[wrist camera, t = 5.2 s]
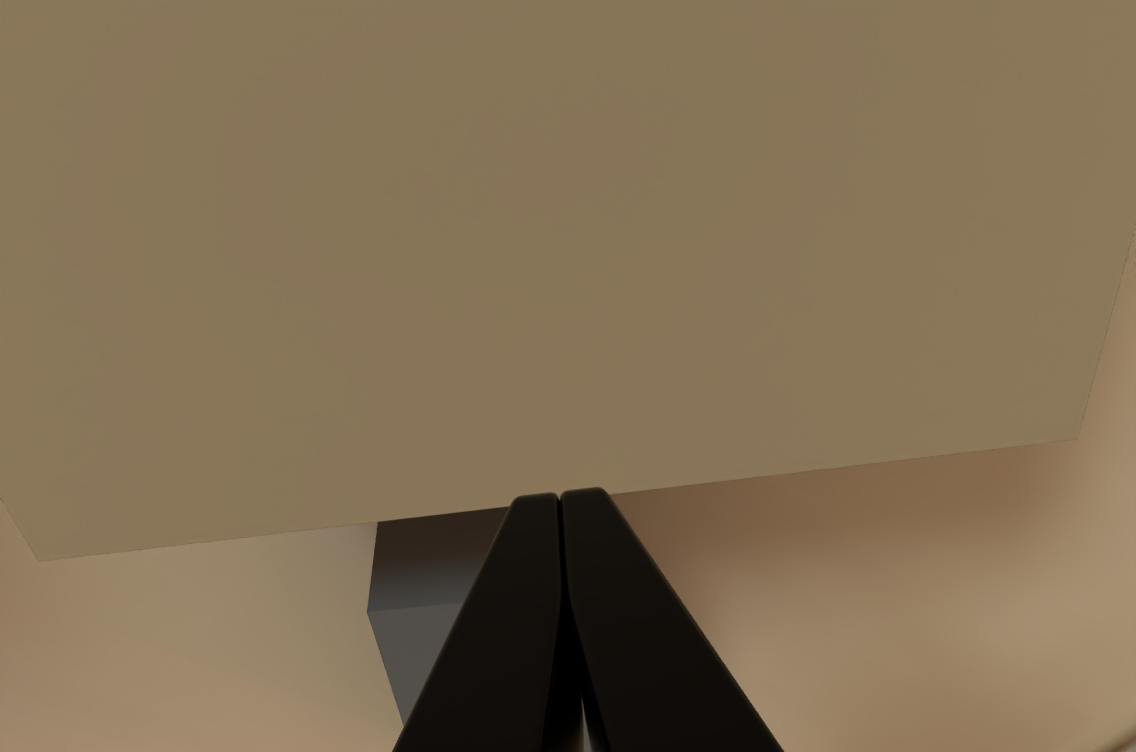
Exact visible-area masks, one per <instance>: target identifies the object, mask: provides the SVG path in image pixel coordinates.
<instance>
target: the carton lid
mask: <svg viewBox="0 0 1136 752" xmlns="http://www.w3.org/2000/svg"><path fill="white" fill-rule="evenodd" d="M1135 225H1136V0H0V499H1V500H2V502H3V504H4V505H5V507H6V508H7V510H8V512H9V513H10V515H11V517H12V518H13V520H14V522H15V523H16V525H17V527H18V528H19V530H20V532H21V533H22V535H23V537H24V538H25V540H26V541H27V543H28V545H29V546H30V548H31V550H32V551H33V553H34V555H35V556H36V558H37V560H38V561H48V560H56V559H65V558H73V557H82V556H90V555H99V554H107V553H116V552H124V551H133V550H141V549H150V548H158V547H167V546H175V545H184V544H192V543H201V542H209V541H218V540H226V539H235V538H243V537H252V536H260V535H269V534H277V533H286V532H294V531H303V530H311V529H320V528H328V527H337V526H345V525H354V524H362V523H371V522H379V521H388V520H396V519H405V518H413V517H422V516H430V515H439V514H447V513H456V512H464V511H473V510H481V509H490V508H498V507H507V506H510V504H511V503H512V501H513V500H514V499H515V498H516V497H518V496H521V495H530V494H539V493H547V492H553V493H555V494H557V495H558V497H559V500H560V496H561V494H562V493H563V492H564V491H566V490H574V489H582V488H591V487H601V488H603V489H604V490H605V491H606V492H607V493H608V494H618V493H626V492H635V491H643V490H652V489H660V488H669V487H677V486H686V485H694V484H703V483H711V482H720V481H728V480H737V479H745V478H754V477H762V476H771V475H779V474H788V473H796V472H805V471H813V470H822V469H830V468H839V467H847V466H856V465H864V464H873V463H881V462H890V461H898V460H907V459H915V458H924V457H932V456H941V455H949V454H958V453H966V452H975V451H983V450H992V449H1000V448H1009V447H1017V446H1026V445H1034V444H1043V443H1051V442H1060V441H1068V440H1077V439H1078V435H1079V431H1080V428H1081V424H1082V420H1083V416H1084V413H1085V409H1086V405H1087V402H1088V398H1089V394H1090V391H1091V387H1092V383H1093V380H1094V376H1095V372H1096V369H1097V365H1098V361H1099V358H1100V354H1101V350H1102V347H1103V343H1104V339H1105V335H1106V332H1107V328H1108V324H1109V321H1110V317H1111V313H1112V310H1113V306H1114V302H1115V299H1116V295H1117V291H1118V288H1119V284H1120V280H1121V277H1122V273H1123V269H1124V266H1125V262H1126V258H1127V254H1128V251H1129V247H1130V243H1131V240H1132V236H1133V232H1134V229H1135Z"/></svg>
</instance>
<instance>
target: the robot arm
mask: <svg viewBox="0 0 1136 752" xmlns="http://www.w3.org/2000/svg"><path fill="white" fill-rule="evenodd" d="M582 701H583V705H582ZM583 708H584V714H585V721H586V726H587V731H588V737H589V742H590V747H591V752H784V751H783V749H782V748H781V746H780V745H779V743H778V742H777V740H776V739H775V737H774V736H773V734H772V733H771V732H770V730H769V729H768V727H767V726H766V724H765V723H764V721H763V720H762V718H761V717H760V715H759V714H758V712H757V711H756V710H755V708H754V707H753V705H752V704H751V702H750V701H749V699H748V698H747V696H746V695H745V693H744V692H743V690H742V689H741V688H740V686H739V685H738V683H737V682H736V680H735V679H734V677H733V676H732V674H731V673H730V671H729V670H728V668H727V667H726V665H725V664H724V663H723V661H722V660H721V658H720V657H719V655H718V654H717V652H716V651H715V649H714V648H713V646H712V645H711V643H710V642H709V641H708V639H707V638H706V636H705V635H704V633H703V632H702V630H701V629H700V627H699V626H698V624H697V623H696V621H695V620H694V619H693V617H692V616H691V614H690V613H689V611H688V610H687V608H686V607H685V605H684V604H683V602H682V601H681V599H680V598H679V597H678V595H677V594H676V592H675V591H674V589H673V588H672V586H671V585H670V583H669V582H668V580H667V579H666V577H665V576H664V575H663V573H662V572H661V570H660V569H659V567H658V566H657V564H656V563H655V561H654V560H653V558H652V557H651V555H650V554H649V553H648V551H647V550H646V548H645V547H644V545H643V544H642V542H641V541H640V539H639V538H638V536H637V535H636V533H635V532H634V531H633V529H632V528H631V526H630V525H629V523H628V522H627V520H626V519H625V517H624V516H623V514H622V513H621V511H620V510H619V509H618V507H617V506H616V504H615V503H614V501H613V500H612V498H611V497H610V495H609V494H608V493H607V492H606V491H605V490H604V489H603V488H601V487H591V488H582V489H574V490H566V491H564V492H563V493H562V494H561V496H560V500H559V497H558V495H557V494H555V493H553V492H547V493H539V494H530V495H521V496H518V497H516V498H515V499H514V500H513V501H512V503H511V504H510V506H509V508H508V510H507V512H506V515H505V517H504V519H503V521H502V523H501V525H500V527H499V529H498V531H497V533H496V535H495V538H494V540H493V542H492V544H491V546H490V548H489V550H488V552H487V554H486V556H485V558H484V561H483V563H482V565H481V567H480V569H479V571H478V573H477V575H476V577H475V579H474V581H473V584H472V586H471V588H470V590H469V592H468V594H467V596H466V598H465V600H464V602H463V604H462V607H461V609H460V611H459V613H458V615H457V617H456V619H455V621H454V623H453V625H452V627H451V630H450V632H449V634H448V636H447V638H446V640H445V642H444V644H443V646H442V648H441V650H440V653H439V655H438V657H437V659H436V661H435V663H434V665H433V667H432V669H431V671H430V673H429V676H428V678H427V680H426V682H425V684H424V686H423V688H422V690H421V692H420V694H419V696H418V699H417V701H416V703H415V705H414V707H413V709H412V711H411V713H410V715H409V717H408V719H407V722H406V724H405V726H404V728H403V730H402V732H401V734H400V736H399V738H398V740H397V742H396V745H395V747H394V749H393V751H392V752H584V720H583Z"/></svg>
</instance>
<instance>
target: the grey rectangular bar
mask: <svg viewBox="0 0 1136 752" xmlns="http://www.w3.org/2000/svg"><path fill="white" fill-rule="evenodd" d="M508 508H509V506H507V507H498V508H490V509H481V510H473V511H464V512H456V513H447V514H439V515H430V516H422V517H413V518H405V519H396V520H388V521H379V522H378V525H377V534H376V542H375V550H374V559H373V567H372V575H371V584H370V592H369V600H368V609H367V613H368V616H369V619H370V623H371V626H372V629H373V632H374V635H375V638H376V641H377V644H378V647H379V650H380V654H381V657H382V660H383V663H384V666H385V669H386V672H387V675H388V678H389V682H390V685H391V688H392V691H393V694H394V697H395V700H396V703H397V706H398V709H399V713H400V716H401V719H402V722H403V725H404V726H405V724H406V722H407V719H408V717H409V715H410V713H411V711H412V709H413V707H414V705H415V703H416V701H417V699H418V696H419V694H420V692H421V690H422V688H423V686H424V684H425V682H426V680H427V678H428V676H429V673H430V671H431V669H432V667H433V665H434V663H435V661H436V659H437V657H438V655H439V653H440V650H441V648H442V646H443V644H444V642H445V640H446V638H447V636H448V634H449V632H450V630H451V627H452V625H453V623H454V621H455V619H456V617H457V615H458V613H459V611H460V609H461V607H462V604H463V602H464V600H465V598H466V596H467V594H468V592H469V590H470V588H471V586H472V584H473V581H474V579H475V577H476V575H477V573H478V571H479V569H480V567H481V565H482V563H483V561H484V558H485V556H486V554H487V552H488V550H489V548H490V546H491V544H492V542H493V540H494V538H495V535H496V533H497V531H498V529H499V527H500V525H501V523H502V521H503V519H504V517H505V515H506V512H507V510H508ZM582 705H583V701H582ZM583 720H584V752H591V747H590V742H589V737H588V731H587V726H586V721H585V714H584V708H583Z"/></svg>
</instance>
